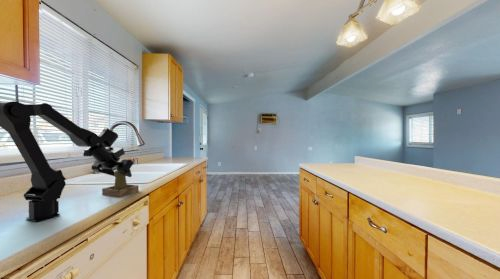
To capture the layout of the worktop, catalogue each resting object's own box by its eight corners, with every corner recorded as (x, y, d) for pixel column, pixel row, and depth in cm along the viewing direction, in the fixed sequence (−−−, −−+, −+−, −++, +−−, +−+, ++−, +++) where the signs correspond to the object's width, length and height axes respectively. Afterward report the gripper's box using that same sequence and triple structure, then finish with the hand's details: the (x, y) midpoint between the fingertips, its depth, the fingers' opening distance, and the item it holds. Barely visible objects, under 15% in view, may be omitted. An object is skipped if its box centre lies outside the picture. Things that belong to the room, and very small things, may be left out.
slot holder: (118, 197, 97) (118, 190, 97) (102, 194, 101) (102, 188, 101) (138, 191, 107) (138, 185, 107) (123, 189, 111) (123, 183, 111)
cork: (130, 192, 106) (130, 169, 106) (119, 195, 100) (119, 171, 100) (121, 190, 108) (121, 168, 108) (110, 194, 102) (109, 170, 102)
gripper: (130, 141, 98) (147, 163, 108) (97, 141, 102) (117, 162, 113) (115, 161, 90) (135, 182, 101) (80, 160, 95) (103, 180, 106)
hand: (123, 175), depth 105 cm, fingers open, 9 cm apart
